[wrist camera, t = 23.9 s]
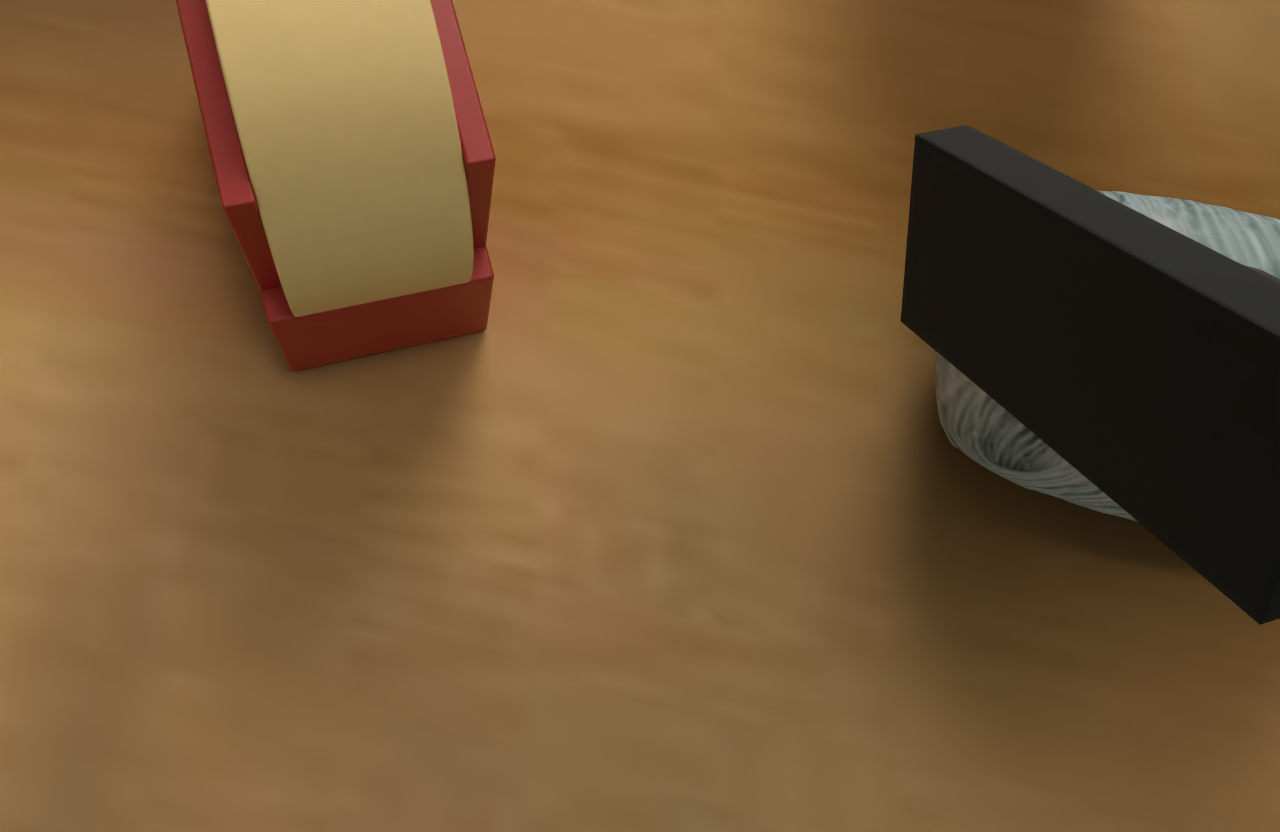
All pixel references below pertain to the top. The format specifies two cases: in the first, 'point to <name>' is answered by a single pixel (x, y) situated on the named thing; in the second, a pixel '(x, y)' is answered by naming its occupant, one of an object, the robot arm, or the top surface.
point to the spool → (1017, 449)
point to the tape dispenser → (348, 167)
